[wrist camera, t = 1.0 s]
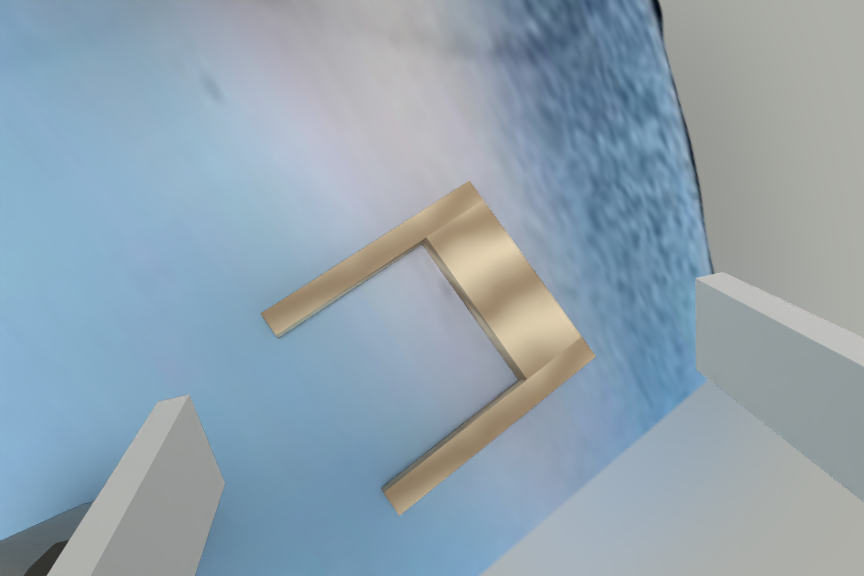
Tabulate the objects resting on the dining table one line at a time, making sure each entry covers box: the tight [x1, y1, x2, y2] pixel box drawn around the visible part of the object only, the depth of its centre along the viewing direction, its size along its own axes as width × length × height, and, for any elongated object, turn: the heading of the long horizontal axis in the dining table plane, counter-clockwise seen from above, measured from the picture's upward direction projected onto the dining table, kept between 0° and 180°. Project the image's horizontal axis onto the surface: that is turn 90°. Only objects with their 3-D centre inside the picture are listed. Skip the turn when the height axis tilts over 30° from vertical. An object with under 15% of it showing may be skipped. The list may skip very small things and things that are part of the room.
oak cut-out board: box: [261, 181, 596, 516], centre depth 43 cm, size 18×20×2 cm
